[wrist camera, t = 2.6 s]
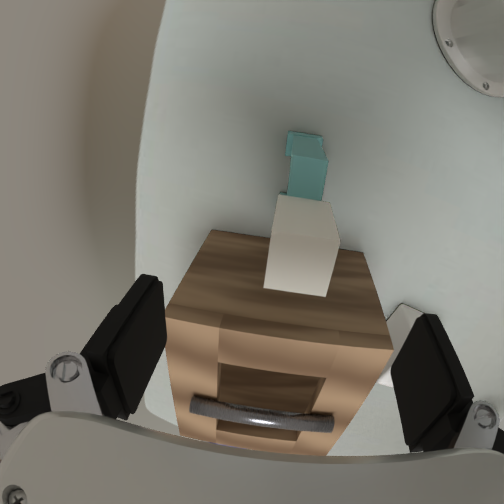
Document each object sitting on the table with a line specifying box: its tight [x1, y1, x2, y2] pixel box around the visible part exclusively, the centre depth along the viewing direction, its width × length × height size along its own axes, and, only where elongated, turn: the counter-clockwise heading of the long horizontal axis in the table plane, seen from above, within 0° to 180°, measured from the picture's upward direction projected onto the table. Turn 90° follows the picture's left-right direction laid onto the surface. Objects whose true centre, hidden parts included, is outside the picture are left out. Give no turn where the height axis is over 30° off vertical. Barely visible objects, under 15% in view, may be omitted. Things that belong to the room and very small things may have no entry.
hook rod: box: [189, 396, 335, 433], centre depth 23 cm, size 2×12×2 cm, turn 84°
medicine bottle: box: [377, 304, 424, 388], centre depth 30 cm, size 7×7×12 cm
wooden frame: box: [165, 230, 394, 456], centre depth 30 cm, size 18×16×14 cm
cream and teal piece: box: [264, 131, 340, 297], centre depth 21 cm, size 8×3×16 cm, turn 174°
